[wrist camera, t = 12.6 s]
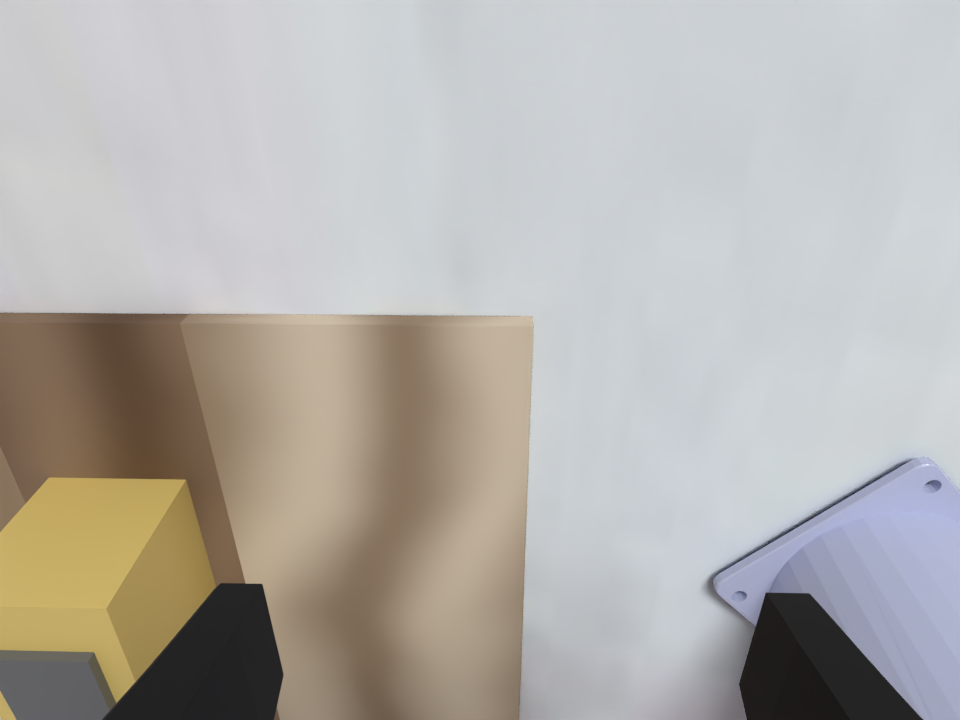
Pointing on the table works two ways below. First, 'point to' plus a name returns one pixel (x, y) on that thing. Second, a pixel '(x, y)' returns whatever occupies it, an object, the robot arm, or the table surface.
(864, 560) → the robot arm
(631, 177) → the table surface
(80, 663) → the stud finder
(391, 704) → the subfloor board
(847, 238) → the table surface
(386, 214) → the table surface
